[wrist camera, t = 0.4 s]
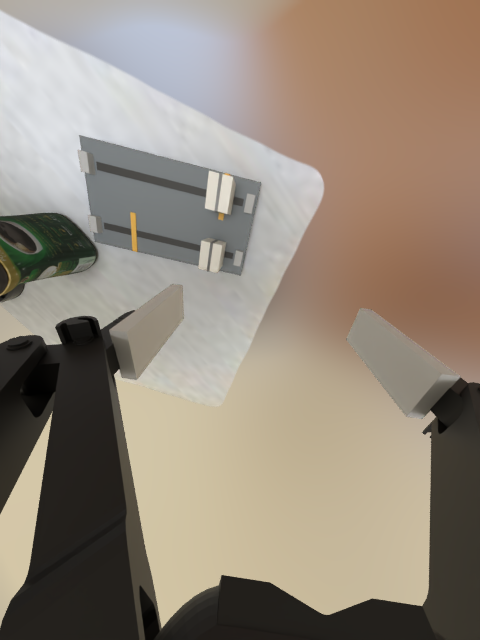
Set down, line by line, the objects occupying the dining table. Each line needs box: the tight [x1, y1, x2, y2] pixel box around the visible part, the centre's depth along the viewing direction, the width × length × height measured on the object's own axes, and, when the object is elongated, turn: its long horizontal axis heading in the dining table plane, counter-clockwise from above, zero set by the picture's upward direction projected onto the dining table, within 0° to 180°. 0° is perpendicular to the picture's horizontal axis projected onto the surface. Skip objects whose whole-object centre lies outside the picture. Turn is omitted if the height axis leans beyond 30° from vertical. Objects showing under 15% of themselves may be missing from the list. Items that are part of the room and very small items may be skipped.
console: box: [78, 135, 261, 276], centre depth 30 cm, size 26×14×3 cm, turn 78°
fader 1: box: [205, 171, 236, 215], centre depth 26 cm, size 3×4×5 cm
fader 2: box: [198, 238, 226, 273], centre depth 29 cm, size 3×4×5 cm
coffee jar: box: [0, 213, 96, 296], centre depth 26 cm, size 10×8×19 cm
